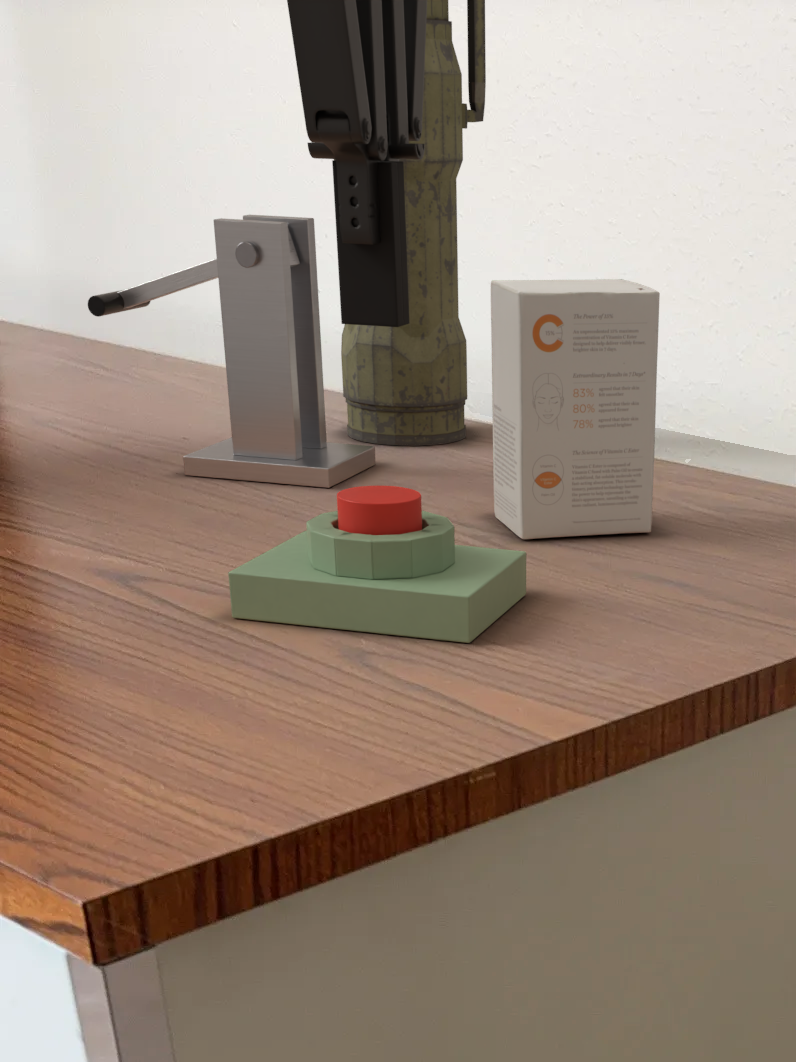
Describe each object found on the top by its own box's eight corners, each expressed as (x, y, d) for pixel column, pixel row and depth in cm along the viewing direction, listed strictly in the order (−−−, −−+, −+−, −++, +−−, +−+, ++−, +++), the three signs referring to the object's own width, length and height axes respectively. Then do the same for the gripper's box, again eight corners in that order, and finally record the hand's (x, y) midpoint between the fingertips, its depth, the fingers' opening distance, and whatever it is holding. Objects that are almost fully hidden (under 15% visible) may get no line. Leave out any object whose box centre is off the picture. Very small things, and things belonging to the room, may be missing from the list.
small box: (618, 510, 101) (625, 277, 94) (653, 534, 96) (663, 290, 89) (490, 516, 99) (488, 277, 92) (519, 541, 93) (519, 290, 87)
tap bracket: (184, 475, 106) (158, 218, 98) (238, 452, 113) (218, 210, 105) (329, 488, 104) (314, 227, 96) (376, 464, 111) (365, 218, 103)
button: (325, 537, 78) (323, 499, 77) (357, 519, 82) (355, 482, 81) (404, 544, 77) (403, 506, 76) (434, 526, 81) (432, 489, 80)
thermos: (312, 426, 122) (277, -157, 104) (464, 420, 126) (456, -142, 108) (341, 449, 115) (309, -172, 97) (502, 442, 119) (499, -155, 101)
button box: (231, 618, 79) (223, 532, 77) (307, 572, 86) (302, 494, 84) (469, 643, 76) (468, 556, 74) (526, 594, 84) (526, 514, 82)
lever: (96, 328, 104) (80, 288, 103) (142, 318, 109) (128, 279, 108) (272, 269, 99) (258, 226, 98) (312, 261, 104) (299, 220, 103)
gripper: (372, -395, 57) (402, 346, 68) (490, -314, 67) (498, 312, 79) (173, -388, 58) (236, 336, 70) (320, -310, 69) (353, 304, 81)
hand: (375, 323), depth 75 cm, fingers closed
